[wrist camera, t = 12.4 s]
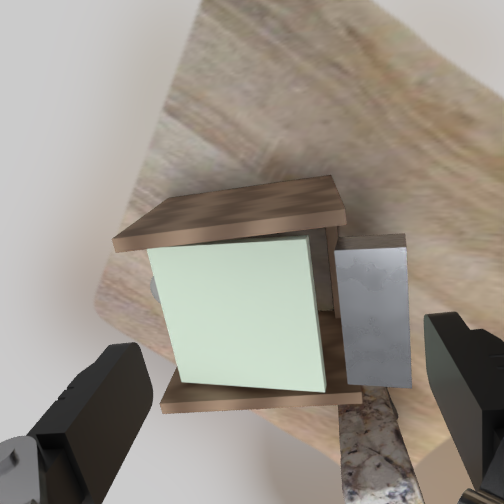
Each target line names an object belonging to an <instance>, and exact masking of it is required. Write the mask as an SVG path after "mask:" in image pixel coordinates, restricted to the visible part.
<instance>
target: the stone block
mask: <svg viewBox="0 0 504 504" xmlns="http://www.w3.org/2000/svg"><path fill="white" fill-rule="evenodd" d="M360 387H361V392H362V404H343V405H338V413H339V436H340V452H341V475H342V490H343V496H344V501H345V504H425V502H424V499H423V496H422V493H421V490H420V487H419V484H418V481H417V478H416V475H415V472H414V469H413V466H412V464H411V461H410V458H409V455H408V452H407V449H406V447H405V444H404V441H403V438H402V435H401V432H400V429H399V426H398V424H397V421H396V420H397V418H398V413H397V410H396V408H395V407H394V405H393V403H392V401H391V398H390V395H389V393H388V390H387V387H382V386H366V385H360Z"/></svg>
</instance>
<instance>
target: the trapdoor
mask: <svg viewBox="0 0 504 504" xmlns="http://www.w3.org/2000/svg"><path fill="white" fill-rule="evenodd" d="M147 252H148V256H149V260H150V264H151V268H152V271H153V275H154V279H155V283H156V287H157V290H158V294H159V298H160V302H161V306H162V309H163V313H164V317H165V321H166V325H167V328H168V332H169V336H170V340H171V344H172V347H173V351H174V355H175V359H176V363H177V366H178V370H179V374H180V378H181V382H186V383H200V384H214V385H228V386H242V387H256V388H270V389H284V390H298V391H312V392H325V390H326V386H327V384H326V376H325V367H324V359H323V351H322V343H321V335H320V326H319V318H318V310H317V302H316V294H315V286H314V277H313V269H312V261H311V253H310V245H309V236H308V235H300V236H283V237H267V238H250V239H233V240H217V241H209V242H201V243H193V244H184V245H176V246H168V247H160V248H152V249H147ZM334 253H335V263H336V273H337V283H338V293H339V303H340V313H341V322H342V332H343V342H344V352H345V362H346V372H347V382H348V384H350V385H366V386H382V387H397V388H412V377H411V352H410V326H409V300H408V275H407V249H406V239H405V234H387V235H370V236H352V237H339V238H338V241H337V244H336V247H335V250H334Z"/></svg>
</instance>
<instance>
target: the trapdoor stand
mask: <svg viewBox="0 0 504 504" xmlns="http://www.w3.org/2000/svg"><path fill="white" fill-rule="evenodd" d="M340 225H347V222H346V211H345V207H344V205H343V202H342V200H341V198H340V195H339V193H338V190H337V188H336V186H335V183H334V181H333V178H332V176H331V175H326V176H319V177H312V178H305V179H298V180H291V181H284V182H277V183H270V184H263V185H256V186H249V187H242V188H235V189H228V190H221V191H214V192H207V193H200V194H193V195H186V196H179V197H172V198H168V199H166V200H165V201H164V202H162V203H161V204H159V205H158V206H157V207H155V208H154V209H153V210H151V211H150V212H148V213H147V214H146V215H144V216H143V217H141V218H140V219H139V220H137V221H136V222H135V223H133V224H132V225H130V226H129V227H128V228H126V229H125V230H124V231H122V232H121V233H119V234H118V235H117V236H115V237H114V238H113V239H112V241H113V245H114V248H115V252H116V253H119V252H127V251H135V250H143V249H152V248H160V247H168V246H176V245H184V244H193V243H201V242H209V241H217V240H225V239H234V238H242V237H250V236H258V235H266V234H275V233H283V232H291V231H299V230H307V229H316V228H324V227H325V230H326V239H327V249H328V258H329V267H330V277H331V286H332V295H333V305H334V310H333V311H321V312H318V318H319V326H320V335H321V343H322V351H323V359H324V367H325V376H326V384H327V386H326V390H325V392H312V391H298V390H284V389H270V388H256V387H242V386H228V385H214V384H200V383H186V382H181V378H180V374H179V370H178V366H177V368H176V370H175V372H174V374H173V376H172V378H171V381H170V383H169V385H168V387H167V389H166V391H165V393H164V396H163V398H162V400H161V402H160V407H161V410H162V413H163V414H171V413H189V412H208V411H228V410H247V409H267V408H286V407H305V406H324V405H343V404H362V392H361V387H360V385H350V384H348V382H347V372H346V362H345V352H344V342H343V332H342V322H341V313H340V303H339V293H338V283H337V273H336V263H335V253H334V250H335V247H336V244H337V241H338V231H337V226H340Z"/></svg>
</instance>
